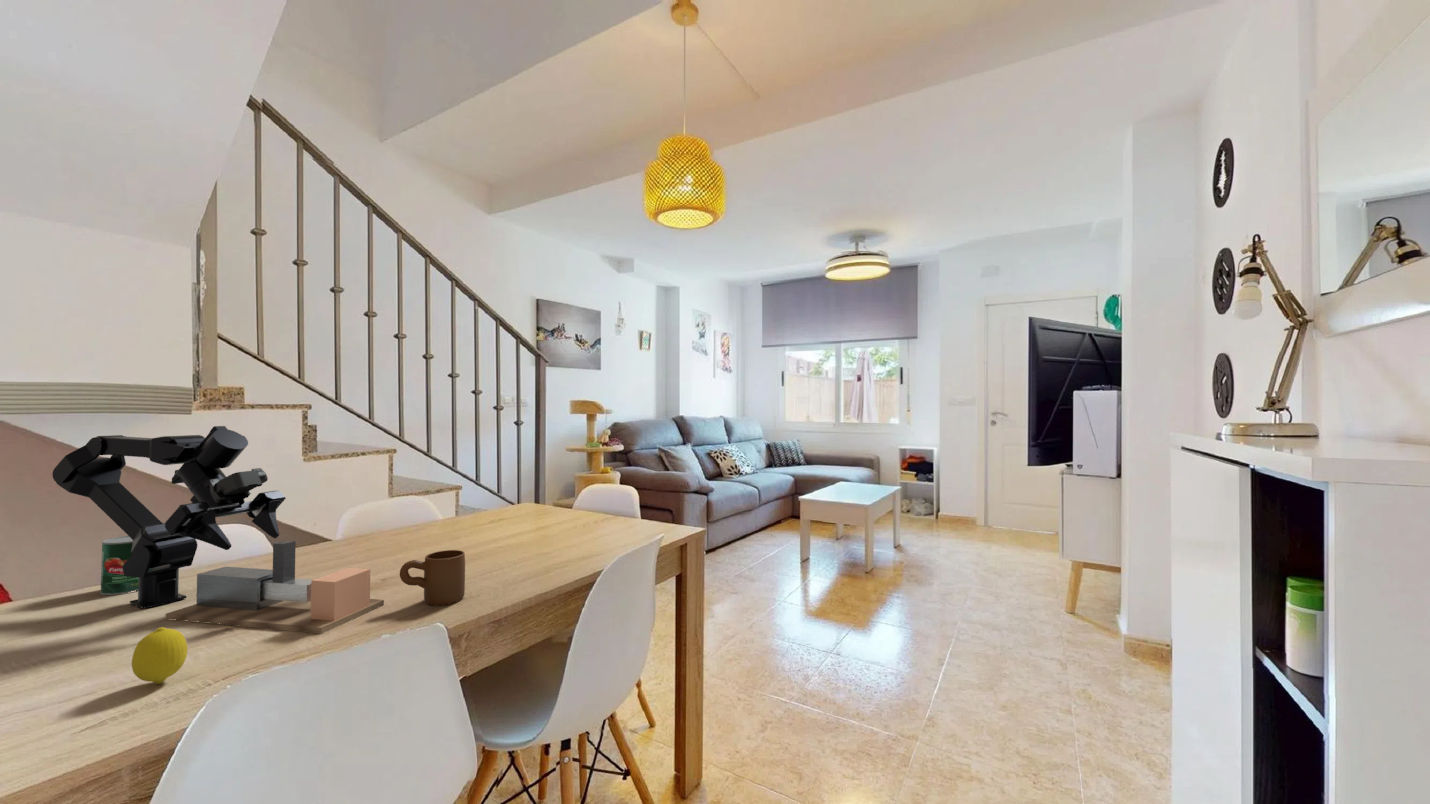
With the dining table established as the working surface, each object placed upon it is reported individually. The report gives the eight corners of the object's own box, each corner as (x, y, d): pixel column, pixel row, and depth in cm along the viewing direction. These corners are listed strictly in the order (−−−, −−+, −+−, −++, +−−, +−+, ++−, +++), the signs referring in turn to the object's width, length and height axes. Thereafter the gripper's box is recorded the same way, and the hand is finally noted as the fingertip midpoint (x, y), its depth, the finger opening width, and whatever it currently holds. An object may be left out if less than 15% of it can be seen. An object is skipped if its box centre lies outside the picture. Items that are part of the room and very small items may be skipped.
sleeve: (196, 605, 104) (197, 574, 104) (225, 596, 109) (225, 566, 109) (256, 610, 102) (257, 578, 102) (283, 601, 107) (283, 570, 107)
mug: (401, 614, 103) (402, 565, 103) (396, 603, 109) (396, 556, 109) (468, 601, 110) (469, 555, 110) (460, 591, 116) (460, 547, 116)
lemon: (157, 674, 79) (158, 620, 79) (197, 673, 80) (198, 619, 80) (118, 694, 74) (120, 636, 74) (162, 693, 74) (163, 635, 74)
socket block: (310, 618, 98) (311, 580, 98) (347, 603, 106) (348, 567, 106) (334, 620, 97) (334, 582, 97) (369, 605, 105) (370, 569, 105)
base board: (165, 619, 100) (165, 613, 100) (243, 593, 114) (243, 589, 114) (321, 633, 94) (321, 627, 94) (383, 604, 108) (384, 599, 108)
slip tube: (206, 594, 105) (207, 540, 105) (224, 589, 108) (225, 536, 108) (306, 602, 101) (307, 546, 101) (321, 596, 104) (322, 542, 104)
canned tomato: (111, 597, 111) (113, 544, 111) (92, 592, 114) (93, 540, 114) (162, 585, 118) (163, 536, 119) (142, 581, 121) (143, 532, 121)
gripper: (178, 460, 97) (228, 524, 95) (279, 452, 115) (322, 505, 113) (143, 502, 98) (190, 566, 96) (247, 488, 117) (290, 541, 115)
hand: (254, 542), depth 105 cm, fingers open, 9 cm apart
